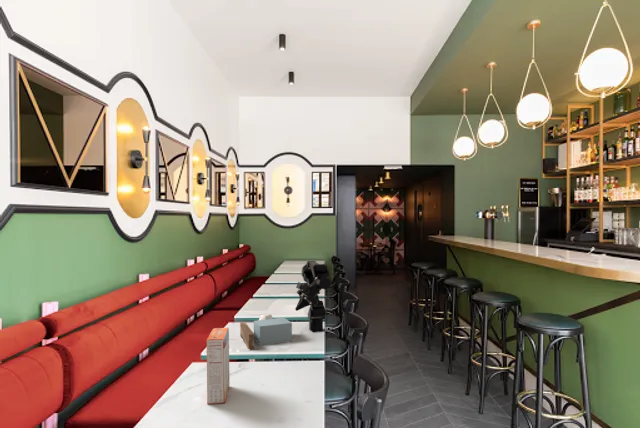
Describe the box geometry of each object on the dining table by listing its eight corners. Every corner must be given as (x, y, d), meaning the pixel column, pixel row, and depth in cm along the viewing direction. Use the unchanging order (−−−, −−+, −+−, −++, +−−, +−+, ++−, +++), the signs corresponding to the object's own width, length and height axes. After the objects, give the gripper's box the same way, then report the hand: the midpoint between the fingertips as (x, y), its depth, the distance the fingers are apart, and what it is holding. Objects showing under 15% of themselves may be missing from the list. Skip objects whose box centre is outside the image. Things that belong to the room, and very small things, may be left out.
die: (266, 334, 210) (277, 317, 214) (252, 325, 212) (263, 308, 215) (268, 335, 218) (278, 319, 222) (255, 327, 220) (265, 311, 223)
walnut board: (245, 335, 206) (245, 321, 206) (254, 349, 183) (254, 334, 183) (240, 336, 205) (240, 322, 205) (248, 350, 182) (248, 334, 183)
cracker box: (212, 387, 142) (212, 327, 142) (230, 386, 143) (229, 327, 143) (205, 404, 128) (205, 339, 128) (224, 403, 129) (224, 338, 129)
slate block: (284, 335, 207) (284, 317, 207) (291, 341, 196) (291, 322, 196) (253, 338, 201) (253, 320, 201) (259, 345, 190) (259, 326, 190)
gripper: (300, 274, 214) (280, 296, 210) (311, 278, 196) (290, 303, 192) (314, 288, 216) (294, 310, 212) (326, 293, 199) (305, 318, 195)
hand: (295, 310), depth 203 cm, fingers closed
